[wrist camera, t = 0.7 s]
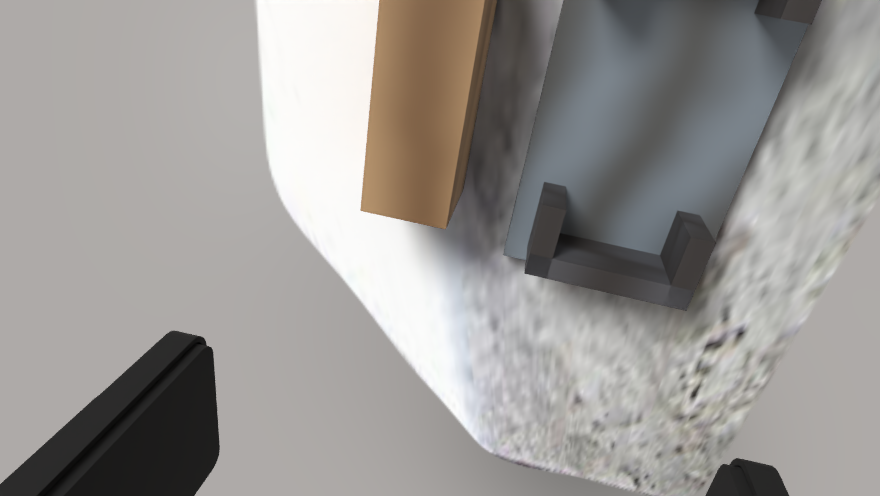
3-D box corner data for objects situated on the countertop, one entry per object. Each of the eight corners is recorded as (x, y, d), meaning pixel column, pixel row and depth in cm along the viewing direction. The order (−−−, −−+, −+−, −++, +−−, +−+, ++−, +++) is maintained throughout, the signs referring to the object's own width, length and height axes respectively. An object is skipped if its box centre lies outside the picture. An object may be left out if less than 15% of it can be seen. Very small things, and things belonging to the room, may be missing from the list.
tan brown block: (391, 173, 34) (360, 210, 29) (421, -93, 28) (389, -108, 22) (463, 188, 34) (445, 229, 28) (511, -78, 27) (499, -90, 22)
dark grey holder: (504, 246, 35) (497, 283, 30) (597, -142, 25) (605, -164, 21) (685, 287, 33) (703, 332, 29) (851, -102, 24) (911, -117, 20)
